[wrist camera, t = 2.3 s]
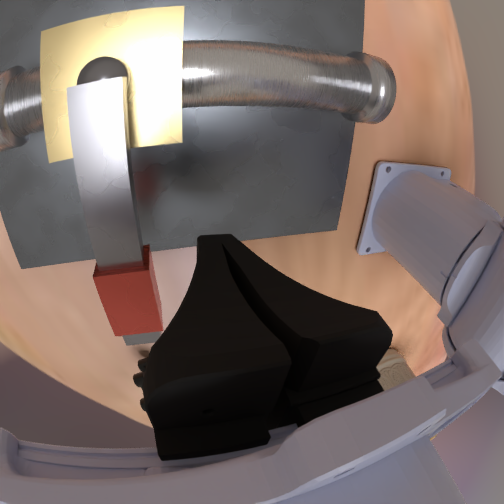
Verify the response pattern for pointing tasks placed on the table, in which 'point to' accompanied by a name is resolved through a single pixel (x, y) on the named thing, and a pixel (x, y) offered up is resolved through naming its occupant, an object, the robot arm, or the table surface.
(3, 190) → the pipe stand
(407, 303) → the table surface
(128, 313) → the valve lever
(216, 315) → the robot arm
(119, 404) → the table surface
